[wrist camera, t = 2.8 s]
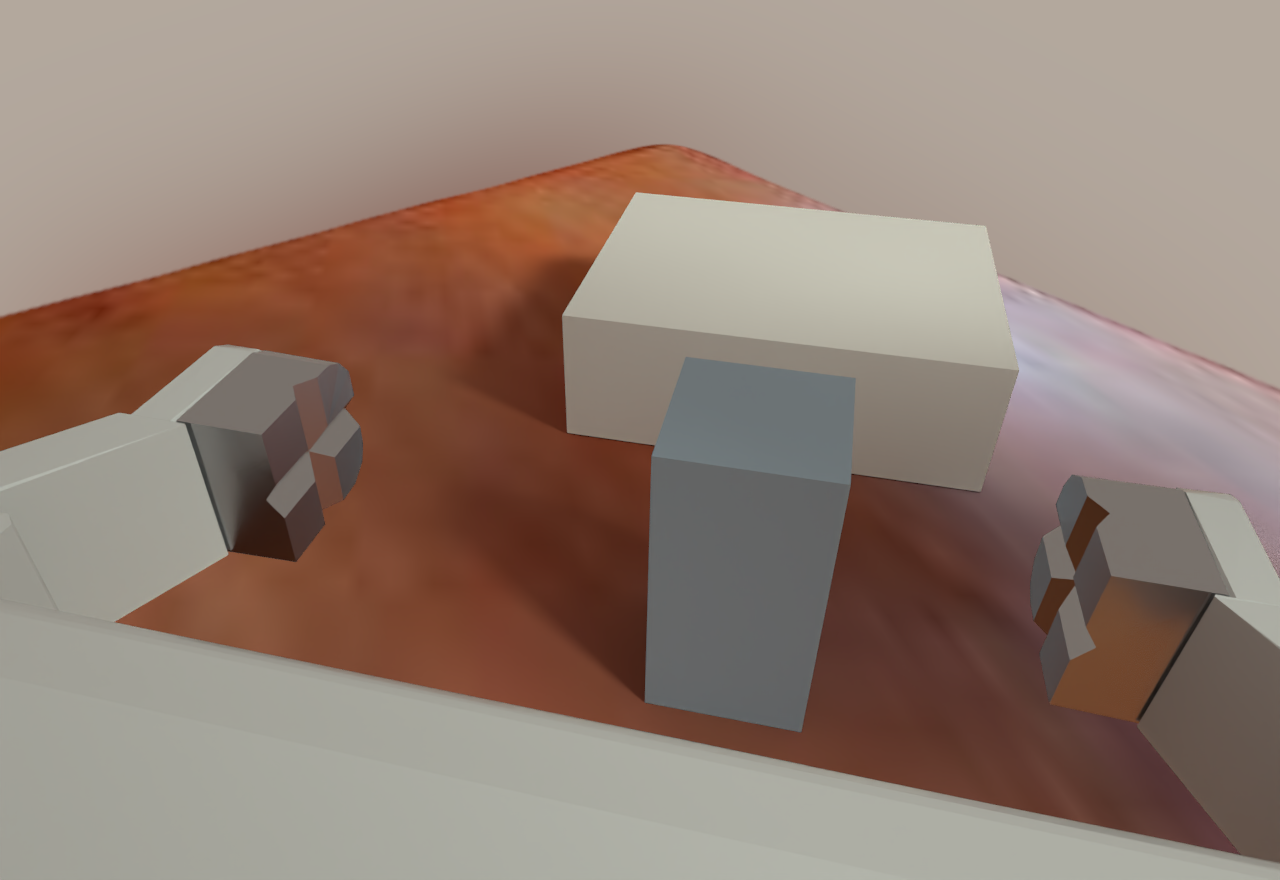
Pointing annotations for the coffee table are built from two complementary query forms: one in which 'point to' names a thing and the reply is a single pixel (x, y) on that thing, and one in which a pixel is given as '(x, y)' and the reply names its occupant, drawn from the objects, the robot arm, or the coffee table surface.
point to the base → (800, 325)
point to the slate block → (745, 537)
